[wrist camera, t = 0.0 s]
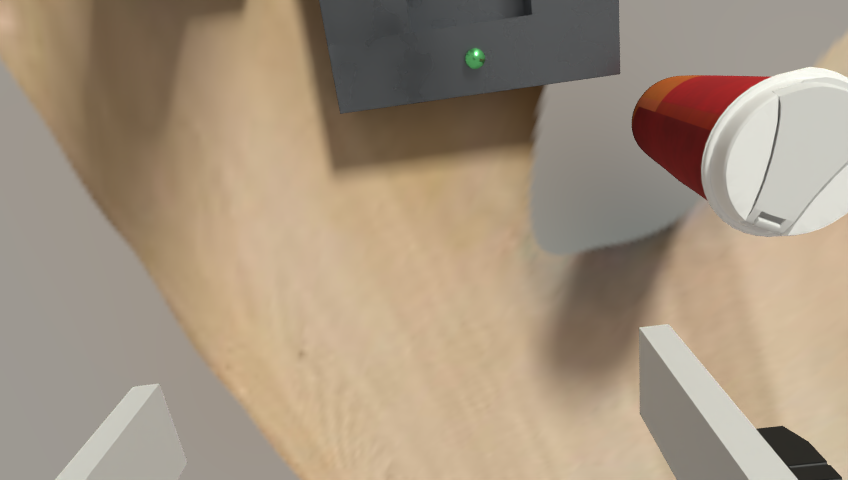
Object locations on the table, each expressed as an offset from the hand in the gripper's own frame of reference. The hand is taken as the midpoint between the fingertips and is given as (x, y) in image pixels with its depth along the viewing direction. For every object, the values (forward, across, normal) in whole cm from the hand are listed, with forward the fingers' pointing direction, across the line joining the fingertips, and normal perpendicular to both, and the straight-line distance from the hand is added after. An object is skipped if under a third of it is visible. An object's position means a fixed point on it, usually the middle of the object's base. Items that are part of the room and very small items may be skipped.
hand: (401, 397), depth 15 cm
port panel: (+28, +5, +12) cm, 31 cm away
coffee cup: (+28, +19, +1) cm, 34 cm away
